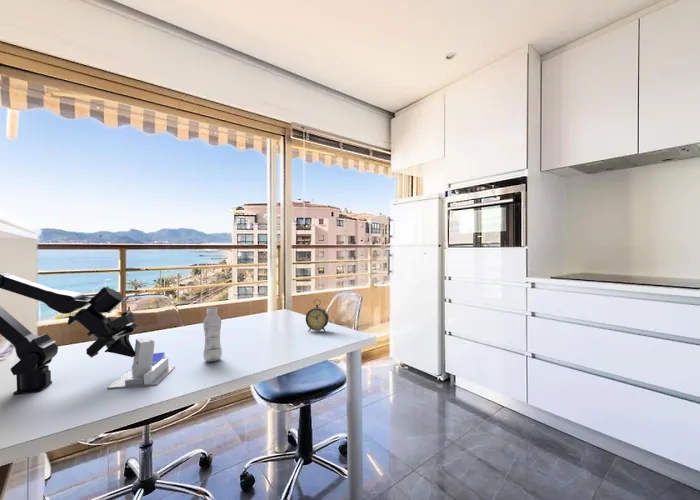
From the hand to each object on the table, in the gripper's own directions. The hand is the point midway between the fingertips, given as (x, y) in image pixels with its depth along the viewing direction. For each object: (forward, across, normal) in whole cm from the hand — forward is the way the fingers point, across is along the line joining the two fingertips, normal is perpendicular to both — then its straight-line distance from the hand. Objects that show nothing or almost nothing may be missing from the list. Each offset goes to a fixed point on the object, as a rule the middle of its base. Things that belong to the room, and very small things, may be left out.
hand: (134, 355), depth 101 cm
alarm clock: (+49, +43, -40) cm, 76 cm away
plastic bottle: (+20, +12, -10) cm, 26 cm away
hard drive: (+4, +13, +6) cm, 15 cm away
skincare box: (+7, 0, +4) cm, 8 cm away
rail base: (+7, 0, +4) cm, 8 cm away
